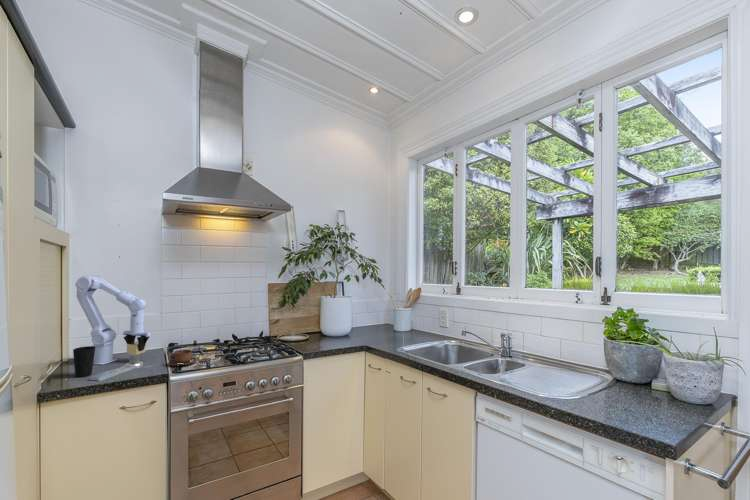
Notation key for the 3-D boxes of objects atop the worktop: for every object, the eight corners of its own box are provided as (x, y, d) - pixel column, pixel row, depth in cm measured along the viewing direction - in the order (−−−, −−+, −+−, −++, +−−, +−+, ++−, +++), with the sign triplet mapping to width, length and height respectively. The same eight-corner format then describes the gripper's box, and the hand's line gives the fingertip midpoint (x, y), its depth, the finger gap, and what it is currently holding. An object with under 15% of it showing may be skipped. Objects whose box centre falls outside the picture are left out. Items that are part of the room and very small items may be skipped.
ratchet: (88, 380, 146) (88, 368, 147) (134, 364, 169) (134, 354, 169) (101, 381, 145) (102, 369, 145) (146, 365, 167) (146, 355, 167)
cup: (89, 377, 149) (90, 350, 150) (68, 379, 147) (69, 351, 147) (97, 372, 157) (98, 345, 157) (77, 373, 154) (78, 346, 155)
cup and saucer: (174, 369, 162) (174, 356, 162) (165, 364, 170) (165, 351, 170) (200, 364, 171) (200, 351, 171) (190, 359, 179) (191, 347, 179)
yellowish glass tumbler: (126, 354, 171) (126, 344, 172) (136, 351, 177) (136, 341, 177) (136, 354, 170) (136, 344, 171) (145, 351, 176) (145, 342, 176)
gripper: (155, 322, 177) (154, 348, 176) (132, 321, 179) (131, 347, 179) (144, 325, 170) (143, 352, 169) (119, 323, 173) (118, 350, 172)
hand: (136, 350), depth 174 cm, fingers closed on yellowish glass tumbler, 6 cm apart
